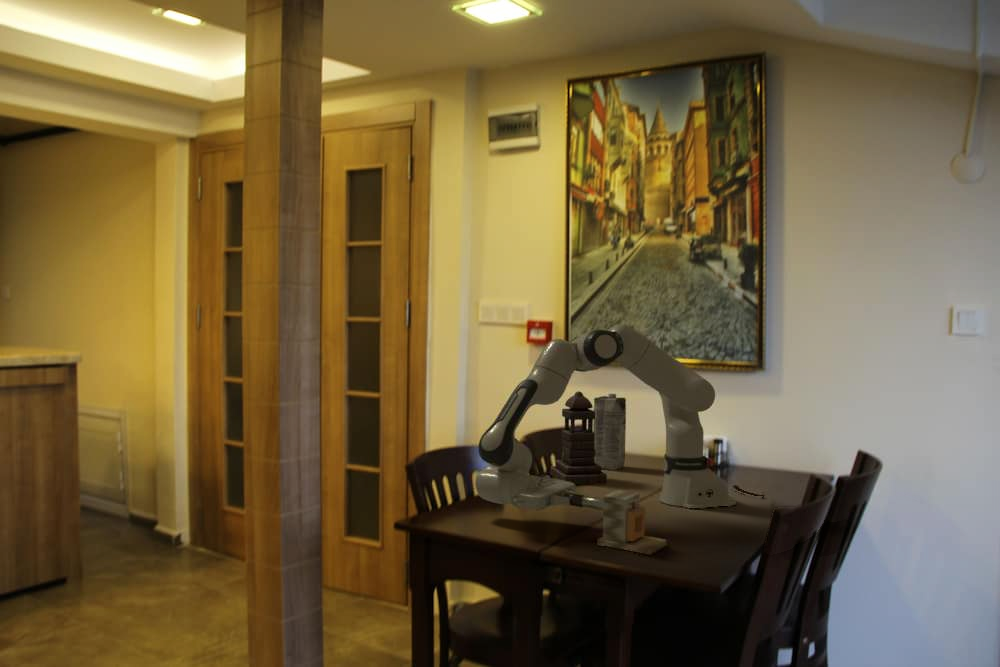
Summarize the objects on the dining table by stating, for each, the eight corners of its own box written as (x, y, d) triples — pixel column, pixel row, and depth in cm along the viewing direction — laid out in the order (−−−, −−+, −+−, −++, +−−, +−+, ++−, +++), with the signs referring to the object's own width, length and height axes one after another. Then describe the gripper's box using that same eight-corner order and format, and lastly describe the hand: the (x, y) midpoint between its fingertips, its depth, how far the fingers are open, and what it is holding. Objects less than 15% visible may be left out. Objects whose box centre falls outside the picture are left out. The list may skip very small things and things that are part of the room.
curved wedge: (743, 500, 253) (743, 495, 252) (731, 490, 266) (731, 485, 266) (770, 500, 252) (770, 495, 252) (757, 490, 266) (757, 485, 266)
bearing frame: (597, 545, 202) (598, 496, 202) (615, 535, 210) (616, 488, 210) (649, 555, 194) (651, 504, 194) (666, 545, 202) (667, 496, 202)
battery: (616, 471, 290) (618, 396, 288) (590, 468, 295) (591, 393, 294) (627, 467, 297) (628, 393, 296) (601, 464, 303) (602, 391, 302)
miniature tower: (607, 483, 270) (608, 393, 269) (564, 485, 267) (565, 394, 266) (590, 473, 286) (592, 388, 285) (549, 475, 283) (551, 389, 282)
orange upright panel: (626, 540, 199) (627, 511, 199) (638, 533, 205) (639, 506, 205) (632, 541, 198) (633, 513, 198) (644, 534, 204) (645, 507, 204)
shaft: (563, 505, 211) (563, 493, 211) (568, 503, 214) (569, 491, 214) (628, 516, 201) (628, 504, 201) (633, 514, 203) (634, 501, 203)
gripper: (507, 487, 210) (554, 495, 202) (548, 474, 227) (592, 480, 219) (507, 511, 210) (553, 520, 203) (547, 496, 227) (591, 503, 220)
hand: (574, 499), depth 211 cm, fingers closed on shaft, 3 cm apart
